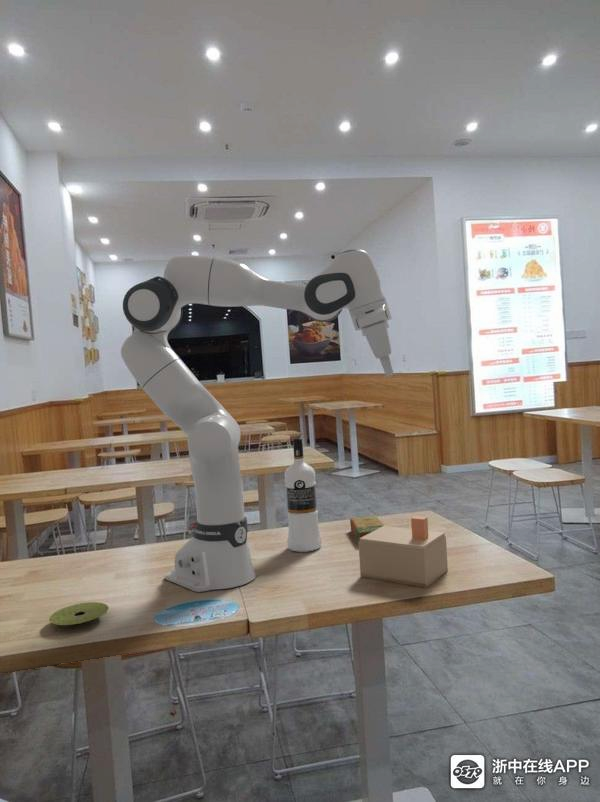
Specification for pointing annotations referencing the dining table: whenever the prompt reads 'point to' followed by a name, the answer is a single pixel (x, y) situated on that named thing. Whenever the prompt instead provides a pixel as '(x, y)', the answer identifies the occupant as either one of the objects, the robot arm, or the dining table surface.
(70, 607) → the green disc
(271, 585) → the dining table surface
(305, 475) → the vodka
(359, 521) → the carton
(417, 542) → the box lid
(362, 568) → the brown carton
